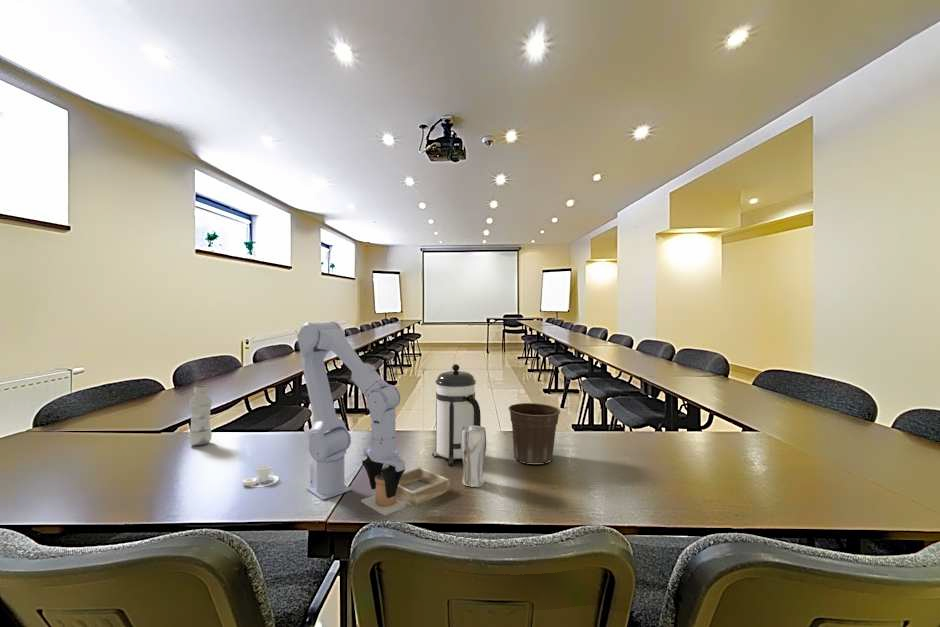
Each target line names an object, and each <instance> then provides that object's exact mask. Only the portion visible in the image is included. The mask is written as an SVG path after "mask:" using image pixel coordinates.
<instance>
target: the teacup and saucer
mask: <svg viewBox="0 0 940 627" xmlns="http://www.w3.org/2000/svg"><path fill="white" fill-rule="evenodd" d="M271 469H273V470H272V472H271V474H270V471H271ZM274 472H275V467H272V466H271V467H270V466H269V465H261V466H258V467H257V468H256V476H255V477H248V478H244V479H243V480H242V485H243V486H244V487H250V488H264V487H268V486H272V485H274V484H276V483H277V482H279V481H280V477H279V476H278V475H274ZM272 477H273V478H272ZM256 478H258V479H256ZM271 478H272V479H274V480H273V481H271V482H270V483H267V482H268V481H269V479H271ZM258 482H259V484H260V483H261V484H263V483H267V484H263V485H257V484H258Z"/></svg>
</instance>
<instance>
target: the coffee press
mask: <svg viewBox="0 0 940 627" xmlns="http://www.w3.org/2000/svg"><path fill="white" fill-rule="evenodd" d="M451 368H452V370H450V371H445V372H442V373H440V374H439V375H438V376H437V379H435V384H436V391H435V392H436V393H435V398H436V400H435V449H434V451H433V452H432V454H431V456H432V457H433V456H434V455H436V457H437V456H438V455H439V456H440V457H443V458H445V459H448V466H449V465H453V466H454V464H455V463H454V462H455V460H457V459H459V460H460V459H462V454H461V433H462V428H463V427H465V426H471V425H476V426H482V425H481V421H482V420H481V418H482V417H481V409H480V404H479V402H478V400H477V399H476V391H475V390H476V389H475V385H476V383H477V381H476V379H475V377H474V375H473V374H472V373H470V372H468V371H460V369H461V368H460V365H459V364H457V363H454V364H453V365H452V367H451ZM435 451H436V453H437V454H434V452H435Z"/></svg>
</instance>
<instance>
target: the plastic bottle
mask: <svg viewBox="0 0 940 627" xmlns="http://www.w3.org/2000/svg"><path fill="white" fill-rule="evenodd" d="M207 392H208V386H207V385H198V386H194V387H193V393H194V395H193V396H192V397H191V398H190V400H189V404H188V406H189V412H190V430H189V434H188V443H189V444H190V445H191V446H202V445H206V444H209V443H210V442H211V440H212V436H213V434H212V429H211V421H210V420H211V418H210V417H211V407H212V403H213V400H212V398H211V396H210V395H209V394H208V393H207Z"/></svg>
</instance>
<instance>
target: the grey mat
mask: <svg viewBox="0 0 940 627" xmlns="http://www.w3.org/2000/svg"><path fill="white" fill-rule="evenodd" d="M360 502H361V503H362V504H364V505H366V506H367V507H369V508H371V509H372V510H374V511H376V512H377V513H378V514H381V515H382V516H384V517H386V516H388V515H390V514H393V513H395V512H398V511H400V510H402V509H404V508H406V505H405V504H403V503H401V502H400V501H398V500H396V503H395V504H393V505H390V506H379V505H377V504H376V503H375V494H374V495H371V496H368V497H366V498H363V499H361V501H360Z"/></svg>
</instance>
